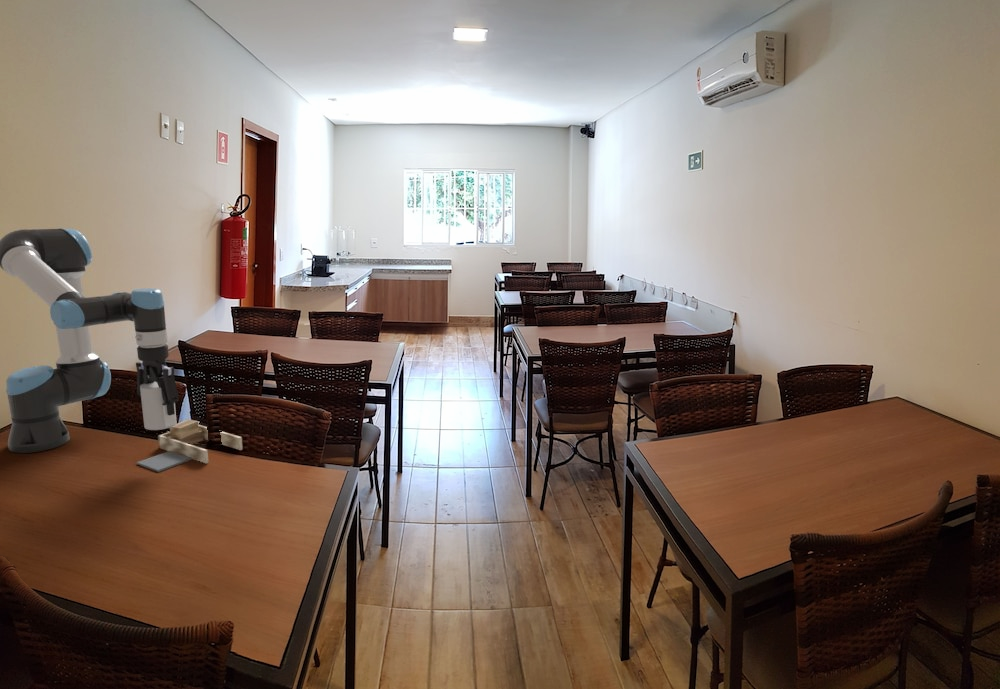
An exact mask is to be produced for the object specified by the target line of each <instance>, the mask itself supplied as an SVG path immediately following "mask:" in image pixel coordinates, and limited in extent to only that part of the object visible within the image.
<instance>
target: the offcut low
mask: <svg viewBox="0 0 1000 689" xmlns="http://www.w3.org/2000/svg"><path fill="white" fill-rule="evenodd" d="M169 438H172V437H171V436H170V437H169ZM172 439H175V440H178V441H181V442H184V443H187V444H188V443H190V444H191V445H195V444H198V443H199V442H203V441H204V439H203V433H202V431H201V430H199V432H197V433H194V434H192V435H190V436H187V437H185V438H183V439H177V438H172Z"/></svg>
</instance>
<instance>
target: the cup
mask: <svg viewBox="0 0 1000 689" xmlns="http://www.w3.org/2000/svg"><path fill="white" fill-rule="evenodd" d="M140 392H141V395H140V398H141V400H140V402H141V407H142V408H141V409H142V417H143V425H144V426H143V427H144V429H145V430H149V431H159V430H166V429H170V427H173V426H175V425H176V424H177V415H176V414H177V413H176V411H177V410H176V402H175V403H174V411H175V424H174V425H171V426H168V427H165V423H164V413H163V405H162V404H163V403H164V400H163V397H162V392H161V388H160V387H159V386H158V384H157V382H155V381H154V382H153V383H149V384H142V385H140Z"/></svg>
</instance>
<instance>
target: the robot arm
mask: <svg viewBox="0 0 1000 689" xmlns="http://www.w3.org/2000/svg"><path fill="white" fill-rule="evenodd" d="M92 258H93V256H92V249H91V246H90V244H89V242H88V240H87V238H86V237H85V236H84V234H82V233H81V232H80V231H79V230H76V229H73V228H44V229H42V228H40V229H39V228H38V229H26V228H25V229H18V230H14V231H10V232H9V233H7V234H5V235H3V237H2V238H1V239H0V268H1V269H2V270H3V271H4V272H5V273H6V274H8V275H9V276H11V277H15V278H18V279H19V280H20V281H21V282H22V283H23V284H24V285H25V286H26V287H28V289H30V290H31V291H32V292H33V293H35V295H36V296H37V297H39V298H40V299H41V300H42V301H43V302H44V303H45V304H46V305H48V306H49V315H50V318H51V319H50V320H52V322H53V325H54V327H55V332H56V338H57V343H58V349H59V355H60V356H59V357H58V358H57V359H56V360H55V366H56V368H53V367H52V366H51V365H37V366H30V367H25V368H22V369H20V370H16V371H15V372H13V373H11V374H10V375H8V377H7V378H6V380H5V383H6V391H5V392H6V395H7V399H8V406H9V411H10V417H11V427H10V432H9V435H8V439H7V447H8V450H9V451H10V452H12V453H17V454H27V453H28V454H30V453H37V452H42V451H49V450H51V449H55V448H58V447H60V446H64V445H65V444H67V443H68V442H69V441H70V432H69V430H68V427H67V426H66V425H65V423H64V422H63V419H62V418H61V417H60V410H59V408H60V407H61V406H65V405H66V406H67V405H69V404H74V403H78V402H79V403H80V402H82V401H83V402H84V401H86V400H87V401H88V400H93V399H95V398H98V397H102V396H104V395H106V394H107V392H108V391H109V389H110V386H111V381H112V375H111V374H112V373H111V371H110V370H111V369H110V368H109V365H108V364H107V363H106V361H104V360H102V359H101V357H100V355H98V354H97V353H95V352H94V351H93V350H94V349H93V344H92V339H91V333H90V326H98V325H105V324H111V323H119V322H127V321H128V322H133V324H134V330H135V331H134V332H135V339H136V340H135V341H136V345H137V347H136V351H137V359H138V360H139V361H138V362H135V368H136V395H137V396H141V392H140V385H142V384H149V383H153V382H154V381H155V382H157V384H158V386H159V387H160V388H161V392H162V397H163V400H164V403H163V404H162V405H163V413H164V423H165V427H168V426H171V425H174V424H175V411H176V410H175V411H174V403H175V404H176V403H177V402H180V397H179V394H178V387H177V383H176V379H175V368H174V366H171V367H168V365H167V363H166V360H167V359H168V358H169V357H170V356H169V355H170V354H169V353H170V352H169V345H168V344H167V343H168V342H169V340H168V334H167V327H166V326H167V324H166V314H165V313H166V312H165V302H164V297H163V293H162V291H161V289H158V288H138V289H134V290H132V291H131V293H130V292H126V291H123V292H121V291H119V292H114V293H112V294H109V295H101V296H90V297H85V294H84V289H83V284H82V277H83V275H85V273H86V267H87V266H89V265H90V264H91V263H92Z"/></svg>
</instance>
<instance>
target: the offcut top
mask: <svg viewBox="0 0 1000 689" xmlns="http://www.w3.org/2000/svg"><path fill="white" fill-rule="evenodd" d="M198 424H199V421H198V420H194V419H185V420H183V421H180V422H178V423H177V424H176V425H175V426H173V427H170V428H169V432H170V435H171V437H172V438H177V439H183V438H185V437H187V436H190V435H192V434H194V433H197V432H199V427H198Z"/></svg>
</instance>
